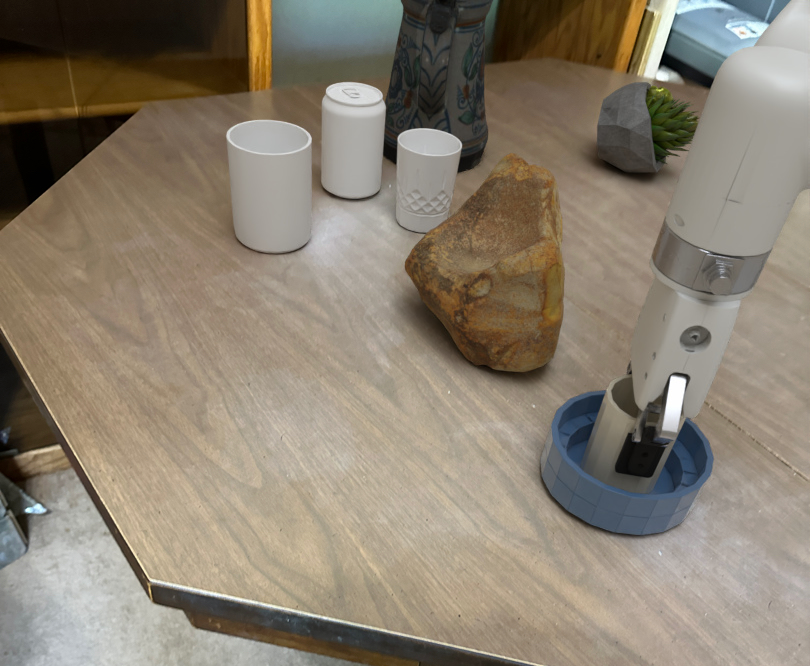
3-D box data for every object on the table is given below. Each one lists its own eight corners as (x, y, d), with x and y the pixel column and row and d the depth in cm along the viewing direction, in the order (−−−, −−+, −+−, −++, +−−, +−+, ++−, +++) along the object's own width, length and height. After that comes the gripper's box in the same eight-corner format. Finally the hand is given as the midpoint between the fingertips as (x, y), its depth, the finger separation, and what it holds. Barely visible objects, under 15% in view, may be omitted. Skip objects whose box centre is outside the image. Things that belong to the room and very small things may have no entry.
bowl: (677, 438, 76) (696, 398, 72) (706, 547, 67) (729, 507, 63) (535, 423, 76) (546, 382, 72) (544, 530, 66) (558, 489, 62)
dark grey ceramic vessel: (458, 125, 123) (485, -70, 104) (511, 180, 112) (551, -29, 93) (360, 131, 118) (369, -73, 99) (404, 188, 107) (424, -30, 88)
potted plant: (610, 116, 123) (710, 110, 117) (596, 193, 122) (695, 192, 116) (599, 64, 111) (709, 55, 105) (583, 149, 111) (692, 145, 105)
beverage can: (333, 205, 102) (335, 107, 93) (312, 178, 106) (312, 82, 97) (389, 198, 104) (396, 103, 95) (367, 172, 109) (371, 78, 100)
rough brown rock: (408, 265, 95) (408, 139, 83) (543, 269, 94) (563, 142, 83) (399, 387, 80) (398, 254, 68) (559, 392, 79) (586, 259, 68)
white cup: (412, 240, 97) (420, 159, 90) (380, 212, 101) (385, 133, 94) (462, 229, 100) (474, 149, 93) (429, 202, 105) (438, 124, 97)
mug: (226, 250, 92) (217, 148, 83) (247, 204, 100) (241, 107, 91) (305, 260, 92) (304, 159, 83) (320, 213, 100) (320, 117, 91)
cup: (647, 455, 73) (680, 378, 66) (658, 507, 69) (696, 429, 62) (576, 448, 73) (602, 370, 66) (583, 499, 68) (612, 421, 62)
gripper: (784, 331, 48) (682, 522, 62) (743, 207, 60) (664, 390, 73) (665, 312, 49) (589, 506, 62) (647, 192, 60) (586, 378, 74)
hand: (630, 442), depth 68 cm, fingers closed on cup, 6 cm apart
